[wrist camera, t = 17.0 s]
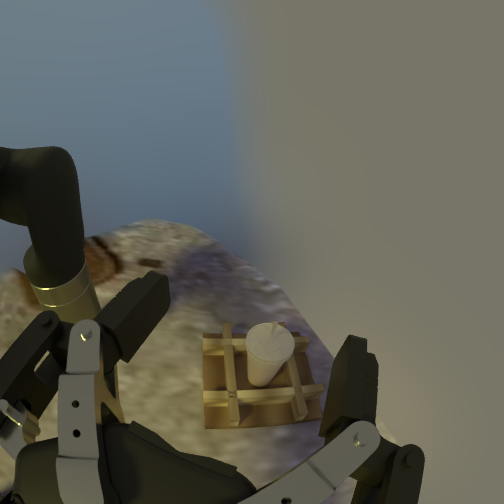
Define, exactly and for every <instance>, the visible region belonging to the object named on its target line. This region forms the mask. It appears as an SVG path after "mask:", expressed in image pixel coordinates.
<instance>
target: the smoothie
mask: <svg viewBox="0 0 504 504" xmlns="http://www.w3.org/2000/svg"><path fill="white" fill-rule="evenodd" d="M294 346H295V343H294V338H293V336H292V335H291V333H290V332H289V331H288V330H287V329H286V328H284V327H282V326H280V325H278V321H277V320H274V322H273V323H261V324H258V325H255V326H254V327H252V328H251V329H250V330H249V332H248V334H247V337H246V340H245V347H246V350H247V360H248V380H249V381H250V383H251V384H253V385H255V386H258V387H263V386H266V385H268V384H269V383H270V381H271V380H272V379H273V377H274V376H275V374H276V373H277V372H278V370H279V369H280V367H281V366H282V364H283V363H284V362H285V361H287V360H288V359H289V358H290V357H291V355H292V353H293V350H294Z"/></svg>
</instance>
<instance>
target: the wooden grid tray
mask: <svg viewBox="0 0 504 504" xmlns="http://www.w3.org/2000/svg"><path fill="white" fill-rule="evenodd" d="M278 325H280V326H282V327H284V328H286V324H285V322H278ZM286 329H287V328H286ZM291 335H292V336H293V338H294V343H295V346H294V350H293V353H292V355H291V357H290V358H289V359H288V360H287V361H285V362H284V363H283V364H282V366H281V367H280V369H279V370H278V372H277V373H276V374H275V376H274V377H273V379H272V380H271V381H270V383H269V384H268V385H266V386H263V387H258V386H255V385H253V384H251V383H250V381H249V380H248V360H247V350H246V347H245V340H246V337H247V334H231V323H223V334H203V379H204V391H203V392H204V414H205V429H234V428H253V427H266V426H276V425H285V424H293V423H300V422H307V421H313V420H319V419H322V417H323V415H322V411H321V407H320V404H319V400H318V398H319V397H320V395H321V394H322V393H323V391H324V387H323V384H322V383H321V384H314V382H313V379H312V375H311V372H310V368H309V365H308V361H307V358H306V354H305V351H306V349H307V347H308V344H309V342H310V341H309V338H308V336H301V337H300V333H299V332H291Z"/></svg>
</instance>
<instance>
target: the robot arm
mask: <svg viewBox="0 0 504 504" xmlns="http://www.w3.org/2000/svg"><path fill="white" fill-rule="evenodd" d="M0 219H2V220H5V221H7V222H10V223H14V224H18V225H23V226H27V227H28V229H29V233H30V237H31V241H32V245H31V246H30V247H29V249H28V250H27V251H26V253H25V256H24V260H23V263H24V268H25V271H26V274H27V277H28V279H29V281H30V283H31V285H32V288H33V290H34V292H35V294H36V296H37V298H38V301H39V303H40V305H41V307H42V309H43V311H44V312H42V313H40V314H39V315H38V316H37V317H36V318H35V319H34V320H33V321H32V322H31V323H30V325H29V326H28V327H27V328H26V329H25V330H24V331H23V332H22V334H21V335H20V336H19V337H18V338H17V339H16V341H15V342H14V343H13V344H12V345H11V347H10V348H9V349H8V350H7V352H6V353H5V354H4V355H3V357H2V358H1V359H0V445H1V446H2V447H3V448H4V449H5V451H6V452H7V453H8V454H9V455H10V456H11V457H12V458H13V459H14V460H15V461H16V463H15V479H14V484H13V488H12V490H11V492H10V493H9V494H8V495H7V496H6V497H4V498H3V499H2V500H0V504H321V503H322V502H323V501H324V500H326V499H327V498H328V497H329V496H331V495H332V494H333V493H334V491H335V489H336V487H337V486H338V485H339V484H340V483H341V482H343V481H344V480H345V479H346V478H347V477H348V476H349V477H352V478H354V479H356V480H358V481H357V484H356V488H355V491H354V495H353V498H352V501H351V504H417V503H418V498H419V493H420V488H421V483H422V477H423V470H424V462H425V457H424V453H423V451H422V450H421V448H420V447H418V446H416V445H414V444H408V445H405V446H403V447H400V446H398V445H396V444H393V443H391V442H389V441H387V440H386V439H384V438H383V437H382V436H381V435H380V433H379V431H378V429H377V428H376V424H375V418H376V406H377V391H378V388H377V386H378V379H377V378H378V363H377V360H376V357H375V355H374V354H372V353H368V352H367V339H365V338H361V337H357V336H354V335H349V336H348V337H347V339H346V340H345V342H344V344H343V346H342V347H341V349H340V350H339V352H338V354H337V356H336V357H335V360H334V362H333V366H332V371H331V376H330V382H329V388H328V393H327V398H326V403H325V408H324V413H323V417H322V422H321V426H320V431H319V435H318V436H320V437H325V443H324V446H323V447H321V448H320V449H319V450H317V451H316V452H315V453H313V454H312V455H311V456H309V457H308V458H307V459H305V460H304V461H302V462H301V463H300V464H298V465H297V466H295V467H294V468H292V469H291V470H289V471H288V472H286V473H285V474H283V475H281V476H280V477H278V478H277V479H275V480H273V481H272V482H270V483H268V484H267V485H265V486H263V487H262V488H260V489H258V490H257V489H256V488H255V486H254V485H253V484H252V483H251V482H250V481H249V480H248V479H247V478H246V477H245V476H243V475H242V474H241V473H239V472H237V471H236V469H237V467H236V466H233V465H230V464H227V463H224V462H221V461H218V460H216V459H213V458H210V457H205V456H199V455H193V454H188V453H183V452H179V451H177V450H176V449H175V448H173V447H172V446H171V445H170V444H168V443H167V442H166V441H165V440H164V439H162V438H161V437H160V436H159V435H158V434H157V433H155V432H153V431H151V430H149V429H147V428H146V427H144V426H142V425H140V424H138V423H137V422H135V421H132V422H131V424H126V423H125V421H124V415H123V411H122V408H121V406H120V402H119V392H118V377H117V364H116V363H117V362H118V361H119V359H121V360H123V361H125V362H126V363H128V362H129V361H130V360H131V358H132V357H133V356H134V354H135V353H136V352H137V350H138V349H139V348H140V346H141V345H142V344H143V342H144V341H145V340H146V338H147V337H148V336H149V335H150V333H151V332H152V331H153V329H154V328H155V327H156V325H157V324H158V323H159V321H160V320H161V319H162V318H163V316H164V315H165V314H166V312H167V311H168V309H169V306H170V292H169V283H168V277H167V276H166V275H163V274H161V273H158V272H155V271H153V270H152V271H149V272H148V273H147V274H146V275H145V276H144V277H143V278H137V279H135V280H133V281H131V282H129V283H128V284H127V285H126V286H125V287H124V288H123V289H122V290H121V292H119V293H118V294H117V295H116V297H114V298H113V299H112V300H111V301H110V302H109V303H108V304H107V305H106V306H105V307H104V308H103V309H101V307H100V304H99V301H98V298H97V295H96V292H95V289H94V285H93V282H92V279H91V276H90V272H89V269H88V265H87V262H86V258H85V254H84V226H83V219H82V212H81V203H80V193H79V183H78V176H77V171H76V167H75V164H74V161H73V159H72V157H71V156H70V154H69V153H68V152H67V151H66V150H64V149H63V148H60V147H55V146H50V147H38V148H28V149H10V148H4V147H0ZM47 351H49V352H50V353H49V354H48V356H47V357H46V358H45V360H44V361H43V362H42V363H41V365H40V366H39V367H38V369H37V370H36V371H35V372H34V369H35V366H36V365H37V363H38V362H39V361H40V359H41V358H42V357H43V356H44V354H45V353H46V352H47ZM57 391H58V437H56V438H52V439H47V440H43V441H38V442H35V438H36V436H39V435H40V432H41V431H40V428H39V423H38V420H39V418H40V417H41V415H42V413H43V412H44V410H45V409H46V407H47V406H48V404H49V403H50V401H51V400H52V398H53V397H54V395H55V394H56V392H57Z"/></svg>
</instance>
